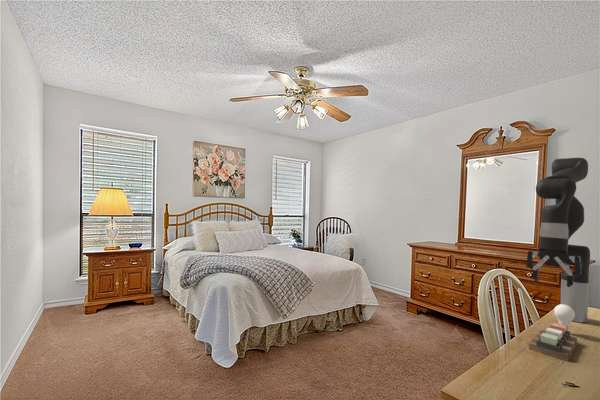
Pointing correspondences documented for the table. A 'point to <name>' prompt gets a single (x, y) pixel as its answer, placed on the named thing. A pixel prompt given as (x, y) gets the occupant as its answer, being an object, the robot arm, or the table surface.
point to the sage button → (549, 339)
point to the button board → (558, 351)
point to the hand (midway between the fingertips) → (552, 283)
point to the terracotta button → (558, 327)
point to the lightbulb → (564, 314)
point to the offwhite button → (554, 332)
